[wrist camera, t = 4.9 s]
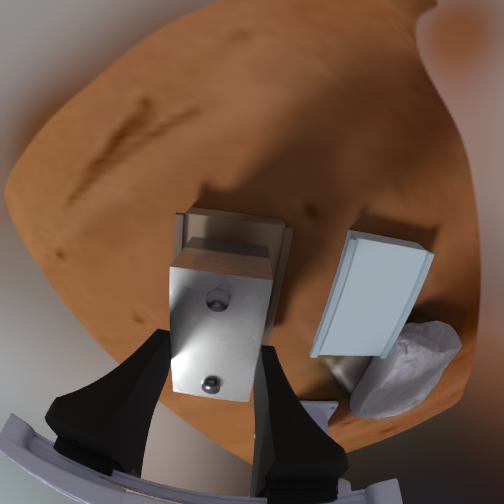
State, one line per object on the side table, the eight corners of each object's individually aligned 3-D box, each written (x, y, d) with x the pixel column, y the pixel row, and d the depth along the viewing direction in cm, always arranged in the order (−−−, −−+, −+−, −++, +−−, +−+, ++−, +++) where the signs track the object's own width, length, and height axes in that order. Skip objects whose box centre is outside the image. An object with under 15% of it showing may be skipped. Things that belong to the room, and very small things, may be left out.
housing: (249, 353, 18) (248, 406, 14) (188, 344, 18) (172, 394, 14) (268, 246, 16) (273, 283, 11) (192, 236, 16) (167, 269, 11)
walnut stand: (290, 220, 17) (294, 230, 16) (266, 337, 22) (266, 354, 20) (183, 206, 17) (175, 214, 16) (181, 325, 21) (175, 340, 20)
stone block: (449, 309, 23) (384, 319, 21) (475, 337, 18) (413, 358, 16) (403, 381, 28) (338, 398, 26) (419, 408, 24) (353, 432, 22)
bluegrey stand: (422, 243, 18) (434, 254, 16) (379, 344, 22) (385, 358, 20) (341, 228, 18) (349, 238, 16) (307, 341, 22) (310, 357, 20)
